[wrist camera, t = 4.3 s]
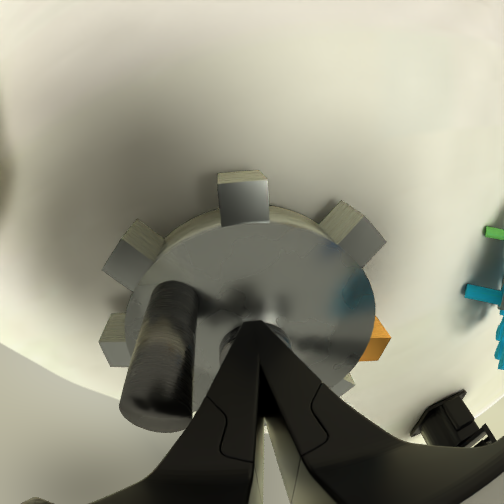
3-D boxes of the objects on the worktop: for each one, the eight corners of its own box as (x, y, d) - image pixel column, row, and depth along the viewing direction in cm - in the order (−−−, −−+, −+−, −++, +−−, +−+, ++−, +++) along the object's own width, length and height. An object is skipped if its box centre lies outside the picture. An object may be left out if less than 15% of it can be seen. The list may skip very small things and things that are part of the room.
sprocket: (415, 288, 15) (494, 374, 8) (257, 418, 18) (273, 510, 11) (233, 99, 10) (260, 47, 3) (73, 324, 13) (21, 434, 6)
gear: (503, 331, 18) (511, 401, 10) (452, 320, 21) (442, 387, 14) (530, 213, 14) (571, 235, 7) (473, 201, 18) (488, 216, 11)
